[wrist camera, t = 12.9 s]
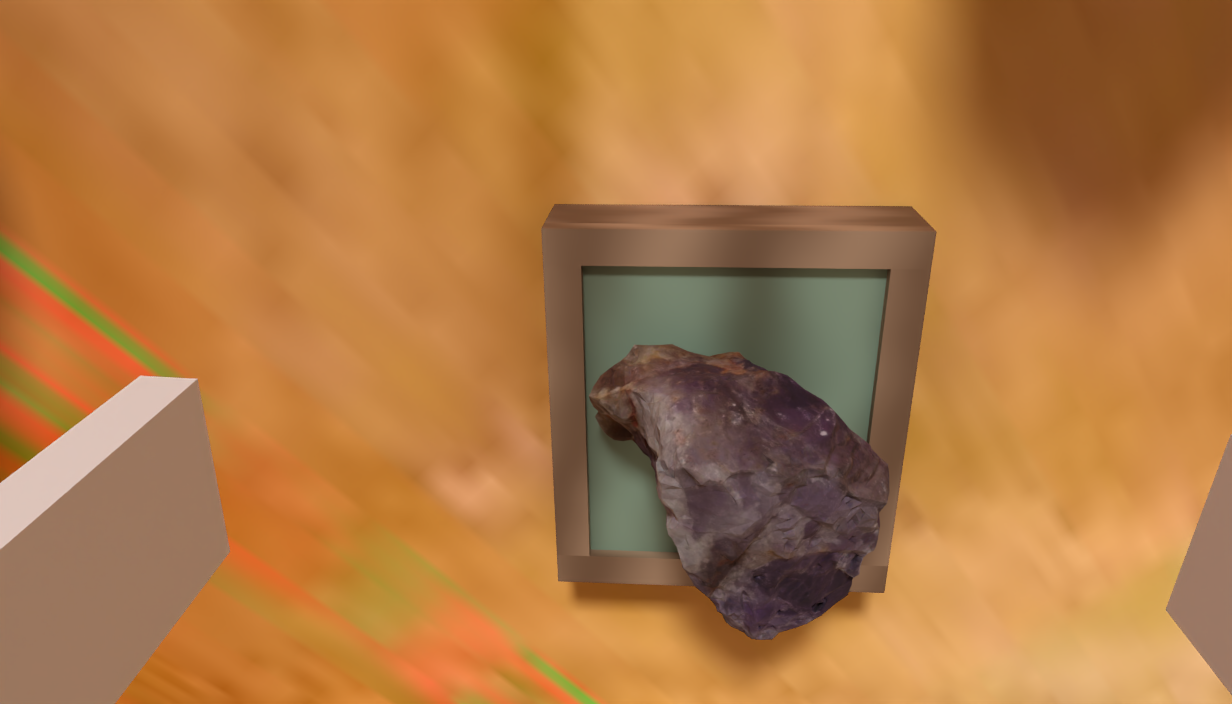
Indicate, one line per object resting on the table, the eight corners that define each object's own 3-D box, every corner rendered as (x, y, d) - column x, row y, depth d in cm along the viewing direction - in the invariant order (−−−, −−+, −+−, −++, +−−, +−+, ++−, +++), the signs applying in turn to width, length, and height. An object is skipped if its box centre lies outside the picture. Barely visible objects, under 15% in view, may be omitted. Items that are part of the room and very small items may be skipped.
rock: (695, 539, 41) (896, 456, 38) (710, 697, 34) (960, 609, 31) (562, 361, 35) (785, 249, 33) (546, 504, 28) (829, 375, 25)
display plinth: (568, 532, 44) (558, 581, 40) (554, 204, 37) (541, 228, 33) (867, 542, 43) (884, 593, 39) (911, 206, 36) (936, 231, 32)
